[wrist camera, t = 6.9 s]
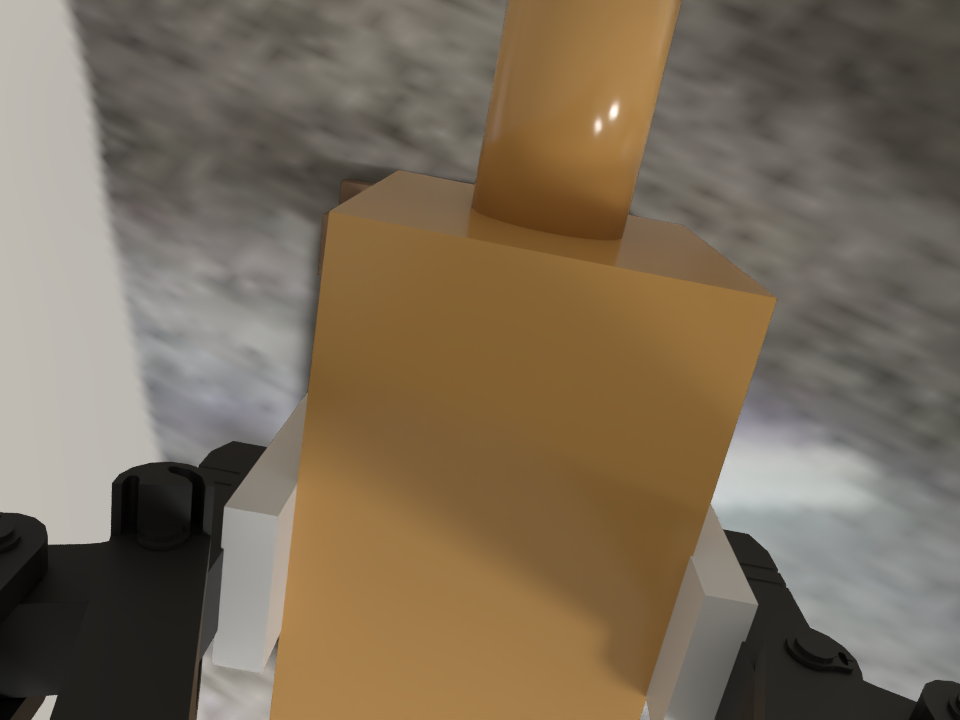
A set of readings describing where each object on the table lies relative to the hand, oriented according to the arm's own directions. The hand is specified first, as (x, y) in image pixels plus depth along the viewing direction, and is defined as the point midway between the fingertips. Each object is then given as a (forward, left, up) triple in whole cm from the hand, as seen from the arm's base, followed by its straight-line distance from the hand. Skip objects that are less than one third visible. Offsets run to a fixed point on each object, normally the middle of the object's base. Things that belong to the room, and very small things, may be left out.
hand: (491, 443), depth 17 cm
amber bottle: (0, -2, 0) cm, 2 cm away
